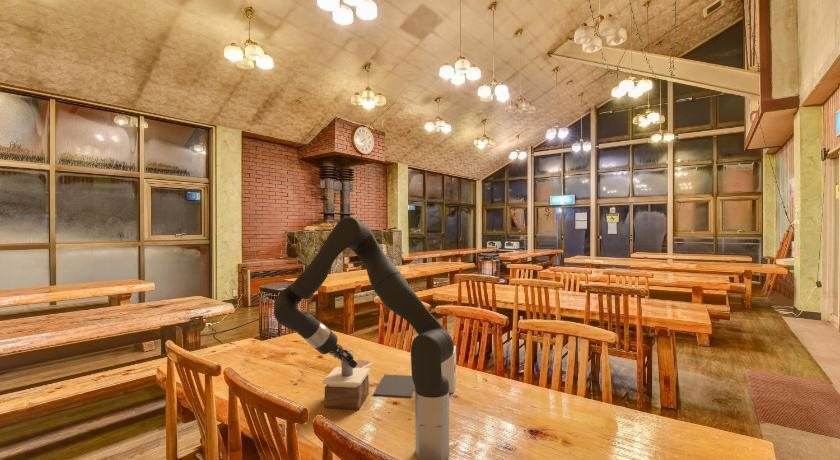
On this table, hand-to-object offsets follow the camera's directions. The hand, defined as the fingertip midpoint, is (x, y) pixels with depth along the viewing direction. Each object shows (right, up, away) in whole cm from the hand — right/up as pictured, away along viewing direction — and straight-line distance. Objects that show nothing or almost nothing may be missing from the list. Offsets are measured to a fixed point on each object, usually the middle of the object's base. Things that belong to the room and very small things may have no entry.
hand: (351, 364), depth 135 cm
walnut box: (-1, -13, -1) cm, 13 cm away
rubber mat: (+15, -12, +11) cm, 22 cm away
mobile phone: (-4, -13, +31) cm, 33 cm away
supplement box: (+33, -12, +9) cm, 37 cm away
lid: (-1, -6, -1) cm, 6 cm away
